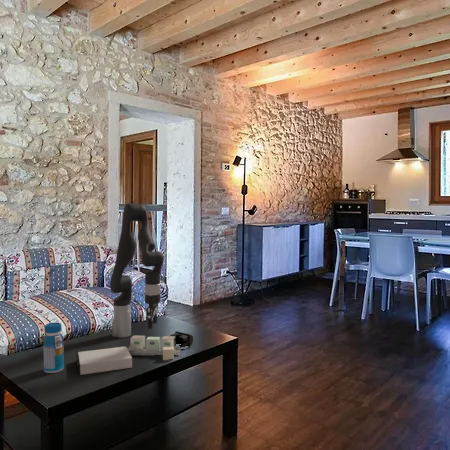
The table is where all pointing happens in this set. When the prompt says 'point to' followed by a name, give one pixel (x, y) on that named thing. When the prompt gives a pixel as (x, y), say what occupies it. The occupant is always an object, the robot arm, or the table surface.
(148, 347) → the module
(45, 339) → the beverage bottle
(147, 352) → the rail
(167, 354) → the block
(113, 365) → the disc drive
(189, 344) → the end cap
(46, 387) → the table surface
